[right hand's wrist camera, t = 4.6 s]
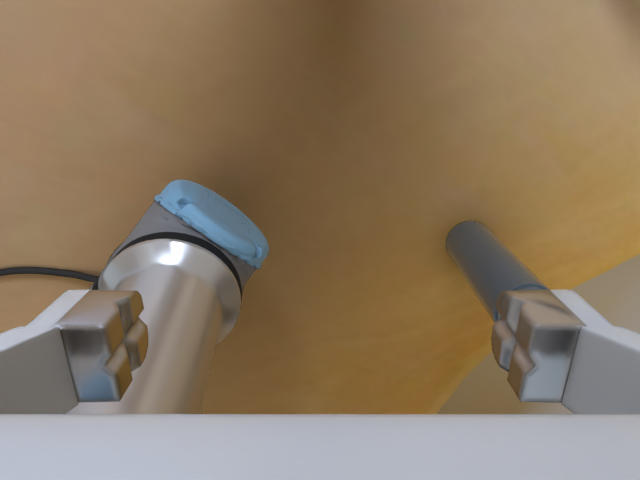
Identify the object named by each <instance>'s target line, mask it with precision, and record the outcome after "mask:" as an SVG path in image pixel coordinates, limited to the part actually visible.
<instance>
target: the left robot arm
mask: <svg viewBox="0 0 640 480" xmlns="http://www.w3.org/2000/svg"><path fill="white" fill-rule="evenodd" d="M154 200H155V201H154V202H153V203H152V205H151V206H150V208H149V209H148V210H147V212H146V213H145V214H144V216H143V217H142V218H141V220H140V221H139V222H138V224H137V225H136V226H135V228H134V229H133V231H132V232H131V233H130V235H129V236H128V237H127V239H126V240H125V241H124V242H123V243H122V244H121V245H120V246H119V247H118V248H117V249H116V250H115V251H114V252H113V254H112V255H111V257H110V259H109V261H108V263H107V266H106V267H105V269H104V270H103V271H102V273H101V274H100V276H99V277H98V276H93V275H88V274H84V273H80V272H75V271H67V270H59V269H50V268H36V267H20V268H7V269H1V270H0V276H2V275H9V274H47V275H56V276H64V277H72V278H78V279H82V280H86V281H90V282H94V284H93V285H92V286H91V288H90V289H92V290H131V291H138V292H139V293H140V294H141V296H142V301H143V305H144V309H143V311H142V313H141V314H140V316H139V318H140V319H141V320H142V321H143V322H144V323H145V324H146V325H147V329H148V335H149V336H148V349H147V354H146V358H145V360H144V361H143V363H142V365H141V367H139V368H137V369H136V370H134V371H132V372H131V373H132V379H133V380H132V382H131V384H130V385H129V387H128V389H127V390H126V392H125V394H124V395H123V397H122V399H121V400H120V402H84V403H78V405H77V406H76V407H74V408H73V409H72V410H70V411H69V412H68V413H66V414H202V410H203V405H204V400H205V395H206V390H207V385H208V380H209V375H210V370H211V365H212V360H213V355H214V349H215V345H217V344H218V343H220V342H221V341H222V340H223V339H225V338H226V337H227V336H228V334H229V333H230V332H231V330H232V329H233V327H234V326H235V323H236V321H237V319H238V316H239V313H240V308H241V301H242V294H243V287H244V285H245V283H246V282H247V280H248V279H249V277H250V276H251V275H252V274H253V273H254V272H255V270H256V269H259V268H260V267H261V266H262V265H261V264H262V262H263V261H264V260H265V258H266V257H267V256H268V253H269V245H268V242H267V240H266V238H265V236H264V235H263V233H262V232H261V231H260V229H259V228H258V227H257V226H256V225H255V224H254V223H253V222H252V221H251V220H250V219H249V218H248V217H247V216H246V215H245V214H244V213H243V212H241V211H240V210H239V209H238V208H237V207H235V206H234V205H233V204H231V203H230V202H229V201H227V200H226V199H224V198H223V197H221V196H220V195H218V194H217V193H215V192H213V191H212V190H210V189H208V188H206V187H204V186H202V185H199V184H197V183H195V182H192V181H188V180H175V181H172V182H170V183H169V184H168V185H167V186H166V187H165V188H164V189H163V191H162V192H161V193H160V194H159V195H156V196H155V198H154Z"/></svg>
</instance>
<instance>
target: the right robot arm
mask: <svg viewBox="0 0 640 480" xmlns="http://www.w3.org/2000/svg"><path fill="white" fill-rule="evenodd" d="M143 309H144V305H143V301H142V296H141V294H140V293H139V292H138V291H131V290H92V289H84V290H67V291H65V292H64V293H63V294H62V295H61V296H60V297H59V298H58V299H56V300H55V301H54V302H53V303H52V304H51V305H50V306H49V307H47V308H46V309H45V310H44V311H43V312H42V313H41V314H39V315H38V316H37V317H36V318H35V319H34V320H33V321H32V322H30V323H29V324H28V325H27V326H26V327H16V328H14V329H11V330H9V331H6V332H3V333H1V334H0V480H640V334H639V333H637V332H634V331H631V330H629V329H626V328H624V327H614V326H613V325H612V324H611V323H610V322H609V321H607V320H606V319H605V318H604V317H603V316H602V315H601V314H599V313H598V312H597V311H596V310H595V309H594V308H593V307H592V306H590V305H589V304H588V303H587V302H586V301H585V300H584V299H583V298H581V297H580V296H579V295H578V294H577V293H576V292H575V291H573V290H569V289H562V290H512V291H502V292H500V295H499V297H498V299H497V305H496V309H497V311H498V313H499V314H500V316H501V318H500V319H499V320H498V321H497V322H496V323H495V324H494V325H493V329H492V337H491V341H492V351H493V354H494V357H495V360H496V361H497V363H498V365H499V366H500V367H501V368H503V369H504V370H506V371H508V372H509V373H508V379H507V380H508V382H509V384H510V385H511V387H512V389H513V390H514V392H515V394H516V395H517V397H518V398H519V400H520V401H521V402H556V403H562V405H563V406H564V407H566V408H567V409H568V410H570V411H571V412H573V413H574V414H66V413H68V412H69V411H70V410H72V409H73V408H74V407H76V406H77V405H78V403H84V402H120V400H121V399H122V397H123V395H124V394H125V392H126V390H127V389H128V387H129V385H130V384H131V382H132V380H133V379H132V373H131V372H132V371H134V370H136V369H137V368H139V367H141V365H142V363H143V361H144V360H145V358H146V354H147V349H148V336H149V335H148V329H147V325H146V324H145V323H144V322H143V321H142V320H141V319H140V318H139V316H140V314H141V313H142V311H143Z"/></svg>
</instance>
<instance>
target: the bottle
mask: <svg viewBox="0 0 640 480" xmlns="http://www.w3.org/2000/svg"><path fill="white" fill-rule="evenodd" d="M446 250H447V252H448V254H449V256H450V257H451V259H452V260H453V262H454V263H455V264H456V266H457V267H458V269H459V270H460V272H461V273H462V275H463V276H464V278H465V279H466V281H467V282H468V284H469V285H470V287H471V288H472V290H473V291H474V293H475V294H476V296H477V297H478V299H479V300H480V302H481V303H482V305H483V306H484V308H485V309H486V311H487V312H488V314H489V315H490V317H491V318H492V320H493V321H494V323H496V322H497V321H498V320H499V319H500V318H501V316H500V314H499V313H498V311H497V309H496V305H497V299H498V297H499V295H500V292H502V291H512V290H550V289H549V288H548V287H547V286H546V285H545V284H544V283H543V282H542V281H541V280H540V279H539V278H538V277H537V276H535V275H534V274H533V273H532V272H531V271H530V270H529V269H528V268H527V267H526V266H525V265H524V264H523V263H522V262H521V261H520V260H519V259H518V258H517V257H516V256H515V255H514V254H513V253H512V252H511V251H510V250H509V249H508V248H507V247H506V246H505V245H504V244H503V243H502V242H501V241H500V240H499V239H498V238H497V237H496V236H495V235H494V234H493V233H492V232H491V231H490V230H489V229H488V228H487V227H486V226H485V225H483V224H482V223H480V222H476V221H466V222H463V223H460V224H458V225H457V226H455V227H454V228H453V229H452V230H451V231H450V233H449V234H448V236H447V239H446Z"/></svg>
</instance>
